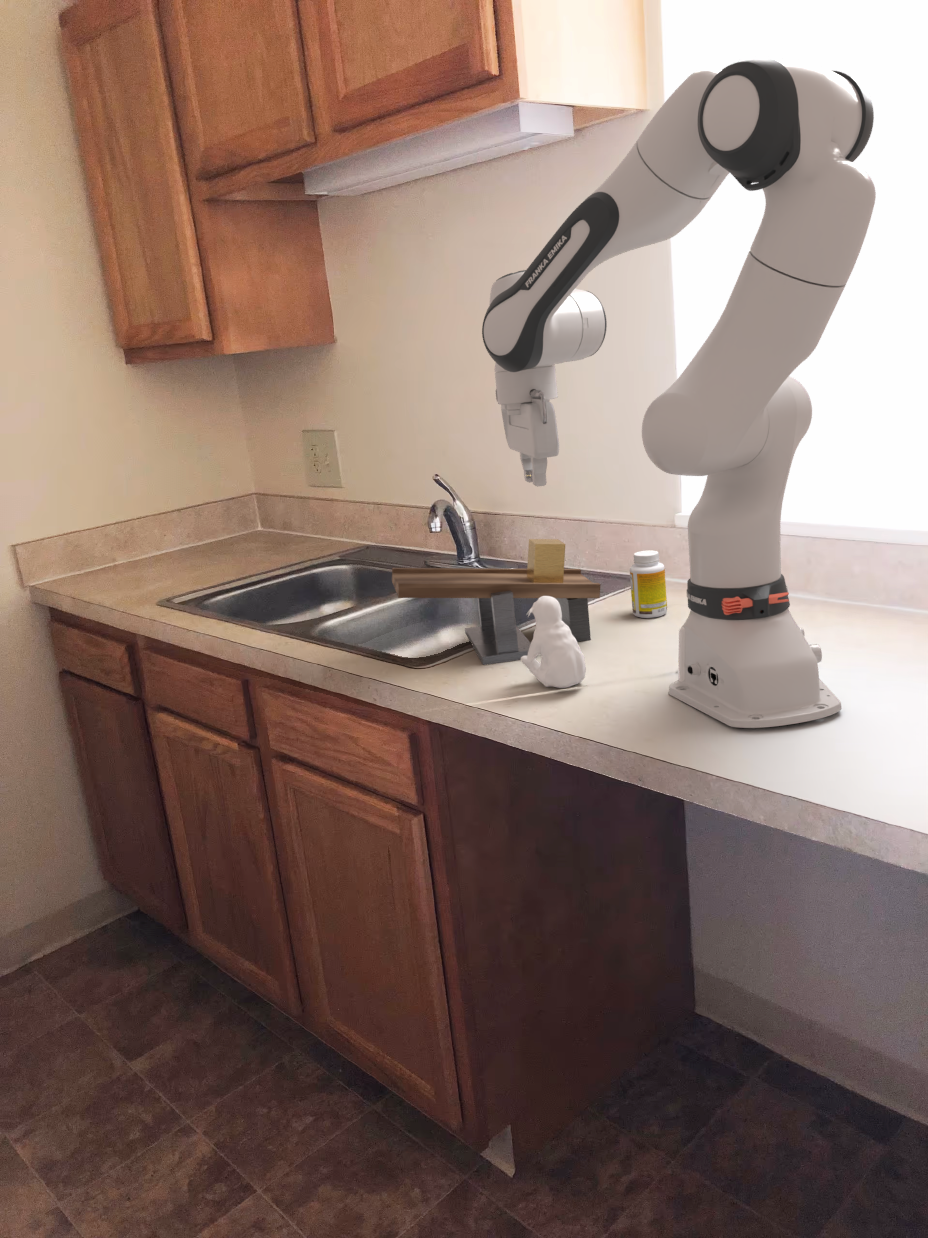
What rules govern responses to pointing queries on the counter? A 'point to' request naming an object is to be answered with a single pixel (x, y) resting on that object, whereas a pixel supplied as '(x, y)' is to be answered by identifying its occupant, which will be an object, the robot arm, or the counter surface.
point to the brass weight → (546, 561)
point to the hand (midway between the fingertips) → (535, 483)
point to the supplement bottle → (648, 585)
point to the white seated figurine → (553, 647)
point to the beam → (487, 583)
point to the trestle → (505, 639)
